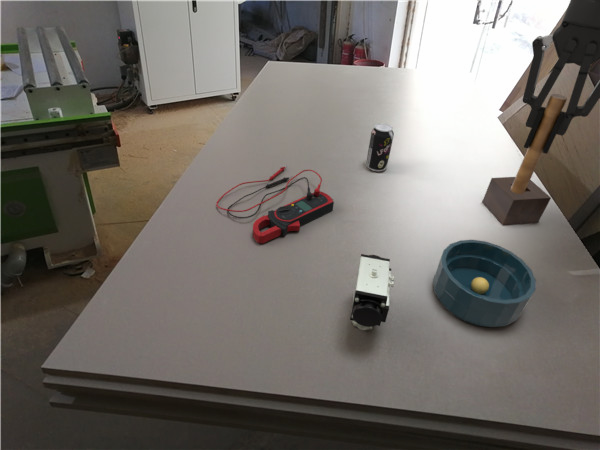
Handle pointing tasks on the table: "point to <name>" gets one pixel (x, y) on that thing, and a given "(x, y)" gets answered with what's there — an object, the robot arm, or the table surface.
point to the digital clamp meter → (287, 210)
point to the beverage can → (379, 147)
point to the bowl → (495, 269)
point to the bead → (480, 285)
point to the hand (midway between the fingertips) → (536, 147)
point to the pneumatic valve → (371, 292)
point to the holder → (515, 202)
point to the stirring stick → (538, 142)
